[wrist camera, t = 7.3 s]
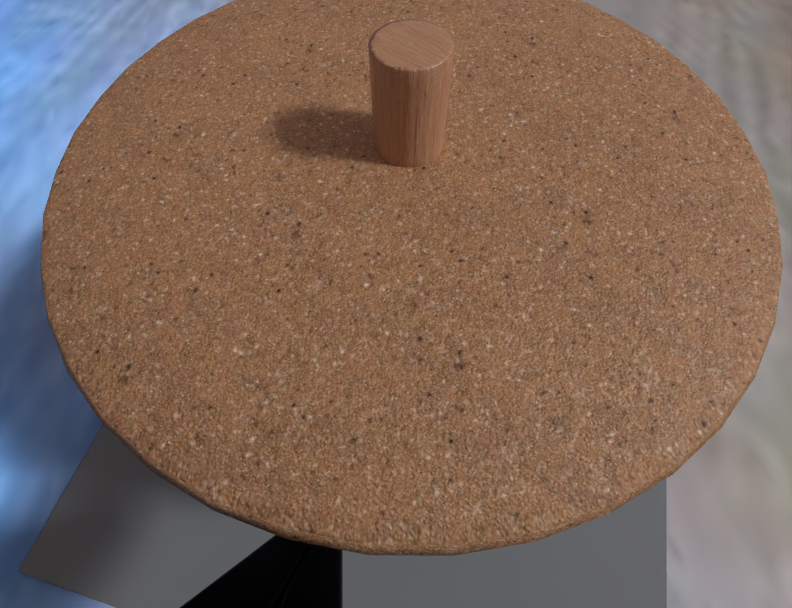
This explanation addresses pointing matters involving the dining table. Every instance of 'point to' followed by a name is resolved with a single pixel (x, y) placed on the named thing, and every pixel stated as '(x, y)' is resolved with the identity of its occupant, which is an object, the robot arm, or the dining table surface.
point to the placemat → (362, 574)
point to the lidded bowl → (411, 267)
